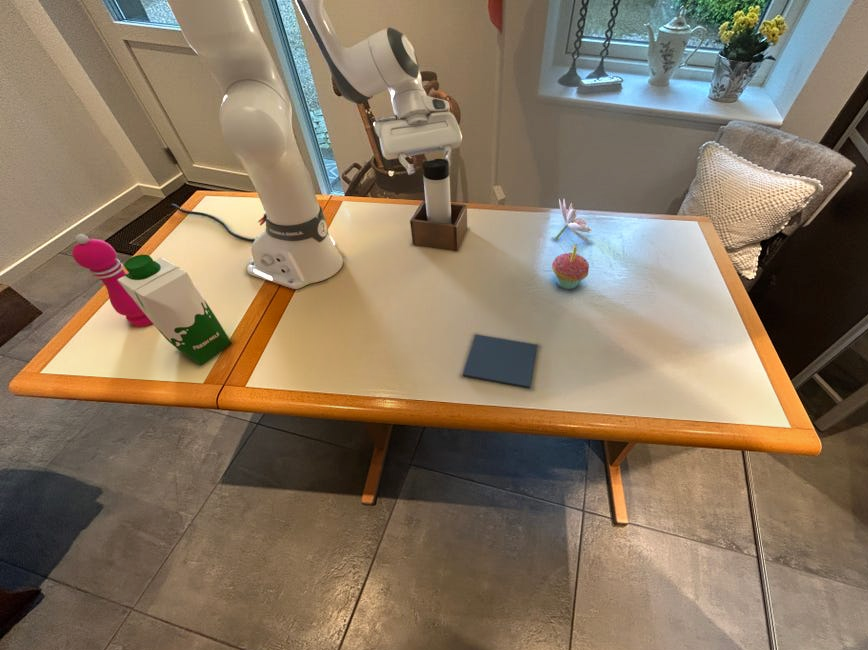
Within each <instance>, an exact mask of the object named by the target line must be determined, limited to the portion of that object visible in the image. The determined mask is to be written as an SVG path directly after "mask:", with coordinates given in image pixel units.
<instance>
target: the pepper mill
mask: <svg viewBox="0 0 868 650" xmlns="http://www.w3.org/2000/svg"><path fill="white" fill-rule="evenodd" d="M74 240H75V241H76V244H75V245H74V246H73V248H72V252H71V254H72V258H73V259H74V261H75V262H76V263H77V264H78V265H79V266H80V267H82V268H85V269H88V272H89V273H90V274H91V275H92V277H94V278H95V279H99V280H100V281H101V282H102V283H103V285H104V287H105V288H106V291H107V294H108V298H109V301H110V305H111V306H112V308H113V310H114V311H115V312H116V313H117V314H119V315H122V316H124V317H125V318H126V320H127V321H128V322H129V323H130V324H131V325H132V326H134V327H141V328H142V327H147V326H150V325H154V324H153V323H152V322H151V321H150V319H149V318H148V317H147V316H146V315H145V313H144V312H143V311H142V310H141V309H140V307H139V306H138V305H137V304H136V302H135V301H134V300H133V299H132V297H131V296H130V295H129V294H128V293H127V292H126V290H125V289H124V288H123V286H122V285H121V284H120V283H119V281H118V279H119V278H121V277H124V275H126V274H127V273H126V271H125V270H124V263H121V261H120V259H118V258H117V251H116V250H115V248H114V247H113V246H112V245H111V244H110V243H109V242H106V241H104V240H102V239H98V238H89V237H88V236H87V235H86V234H83V233H78V234H76V235H75V237H74Z"/></svg>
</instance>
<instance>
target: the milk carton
mask: <svg viewBox="0 0 868 650" xmlns="http://www.w3.org/2000/svg"><path fill="white" fill-rule="evenodd" d="M123 268H124V269H125V270H126V271H127V272H128V273H126V275H124V277H121V278H119V279H118V281H119V283H120V284H121V285H122V286H123V288H124V289H125V290H126V292H127V293H128V294H129V295H130V296H131V297H132V299H133V300H134V301H135V302H136V304H137V305H138V306H139V307H140V309H141V310H142V311H143V312H144V313H145V315H146V316H147V317H148V318H149V319H150V321H151V322H152V323H153V324H152V325H153V326H154V327H155V328H156V329H157V330H158V331H159V332H160V334H161V335H162V336H163V337H164V338H165V339H166V341H167V342H169V343H170V344H171V345H172V346H173V347H174V348H175V349H177V350H178V351H179V352H180V353H182V354H183V355H185V356H186V357H188V358H189V359H191V360H193V361H194V362H195V363H197V364H198V365H200V366H202V365H204V364H205V363H206V362H207V361H210V360H211V359H212V358H214V357H215V356H216V355H218V354H219V353H220V352H222V351H223V350H224V349H226V348H227V347H228V348H229V346H230V345H232V344H233V342H232V340H231V339H230V338H229V335H228V334H227V333H226V331H225V329H224V328H223V326H222V325H221V322H220V321H219V319H218V318H217V316H216V315H215V313H214V312H213V310H212V309H211V307H210V306H209V304H208V303H207V301H206V300H205V298H204V297H203V295H202V294H201V292H200V291H199V289H198V288H197V287H196V285H195V284H194V282H193V280H192V278H191V277H190V275H189V273H188V271H186V270H184V269H181V267H180V266H178V265H176V264H174V263H172V262H170V261H168V260H167V259H165V258H162V257H159V258H157V259H155V260H154V259H153V258H152V257H151V255H148V254H137V255H134V256H131V257H129V258H127V260H125V261H124V263H123Z"/></svg>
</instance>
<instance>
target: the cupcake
mask: <svg viewBox="0 0 868 650" xmlns="http://www.w3.org/2000/svg"><path fill="white" fill-rule="evenodd" d="M577 249H578V246H577V243H575V244H574V246H573V250H572V252H565V253H562V254H560V255H557V256H555V258H554V259H553V261H552V264H551V270H552V272H553V274H555V276H556V280H557V284H558V285H559V287H561V288H563V289H566V290H573V289H575V288H576V287H578V285H579V283H580V282H581V281H582V280H584V279H585V278H586V277H588V275H589V272H590V271H589V270H590V264H589V262H588V260H587V259H586V258H585V257H583V256H581V255H580V254H578V253H577Z"/></svg>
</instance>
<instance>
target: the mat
mask: <svg viewBox="0 0 868 650" xmlns="http://www.w3.org/2000/svg"><path fill="white" fill-rule="evenodd" d="M537 348H538V344H537V343H529V342H524V341H518V340H517V341H516V340H511V339H506V338H499V337H493V336H488V335H483V334H482V335H481V334H474V338H473V341H472V345H471V347H470V350H469V354H468V357H467V360H466V364H465V366H464V369H463V373H462V376H463V377H464V378H470V379H471V378H472V379H477V380H482V381H486V382H487V381H488V382H492V383H493V382H494V383H499V384H503V385H509V386H515V387H520V388H526V389H531V384H532V377H533V372H534V367H535V366H534V365H535V361H536V354H537Z"/></svg>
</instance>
